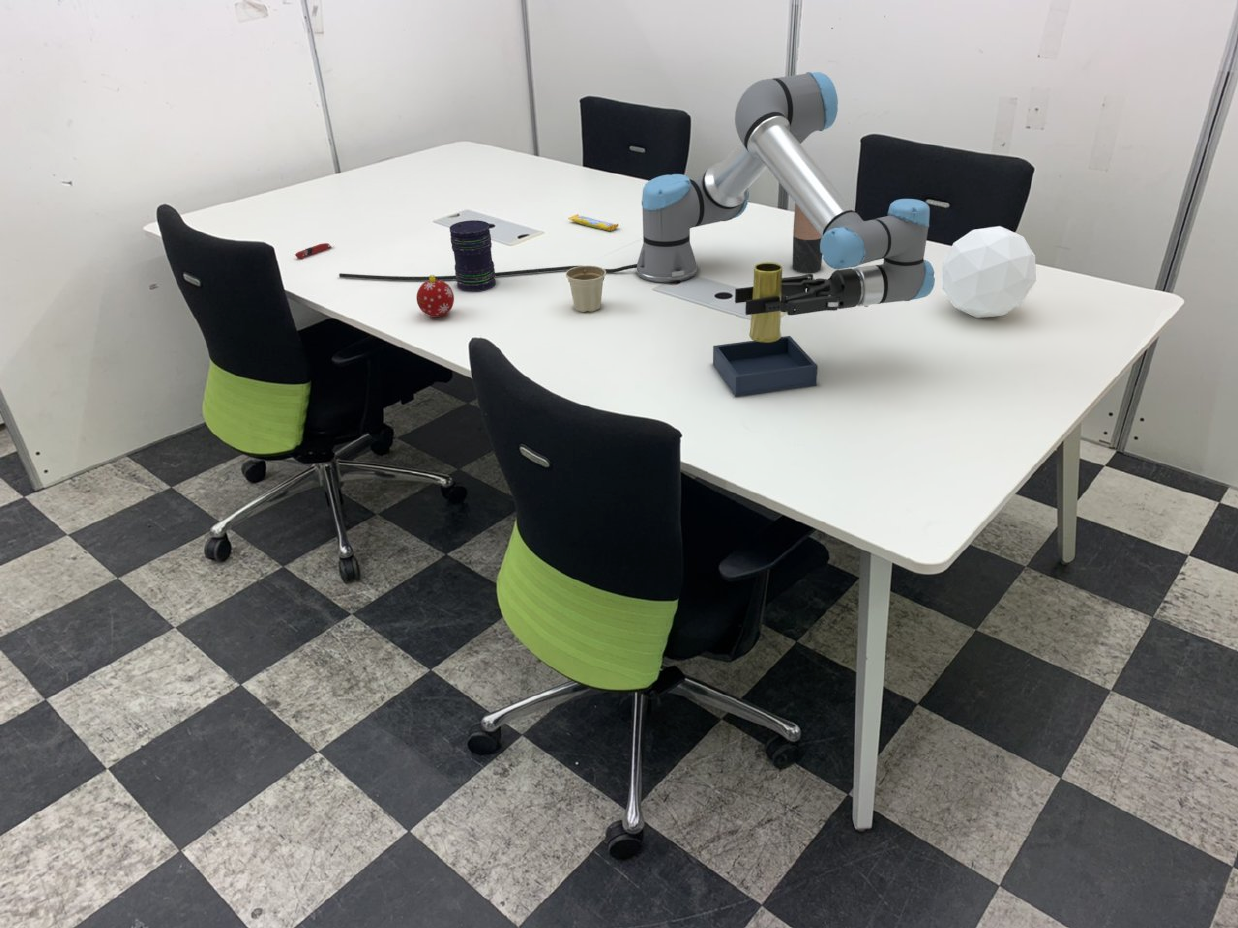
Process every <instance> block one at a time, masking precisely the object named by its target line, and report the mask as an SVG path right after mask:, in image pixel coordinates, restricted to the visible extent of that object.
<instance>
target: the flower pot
mask: <svg viewBox="0 0 1238 928" xmlns="http://www.w3.org/2000/svg"><path fill="white" fill-rule="evenodd" d="M577 266H578V267H574V268H571V269H569V270H566V271H565V277H566V278H567V282H568V283H569V287H570V291H571V297H572V302H573V307H574V309H575V310H576V311H577V312H582V313H585V312H590V313H592V312H595V311H598V310H599V309H600V308H601V306H602V294H603V286H604V285H603V284H604V280H605V277H606V276H607V273H606V271H605V269H606V268H603V267H601V266H597V265H577Z"/></svg>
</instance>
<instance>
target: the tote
mask: <svg viewBox="0 0 1238 928" xmlns="http://www.w3.org/2000/svg"><path fill="white" fill-rule="evenodd" d="M712 366H713V367H714V369H715V370H716V371H717V373H718V374H719V376H720V377H721V379H722V380H723V382H724V383H725V385H727V387H728V389H729V390H730V392H731V393H732V394H733V396H734V398H738V397H745V396H752V395H759V394H765V393H767V394H768V393H774V392H780V391H788V390H794V389H802V388H808V387H815V386H817V381H818V368H819V365H817V363H816V362H815V361H814V360H813V359H812V358H811V357H810V355H808V353H807V352H806V351H805V350H804V349H803V348H802V347H801V346H800V345H799V343H797V341H796V340H795V339H794V338H793V337H792V336H791V335H787V336H786V335H785V336H781V338H780V339H779V340H777V341H775V342H770V343H762V342H757V341H754V340H747V341H739V342H733V343H732V342H731V343H725V344H717V345H713V346H712Z"/></svg>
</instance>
